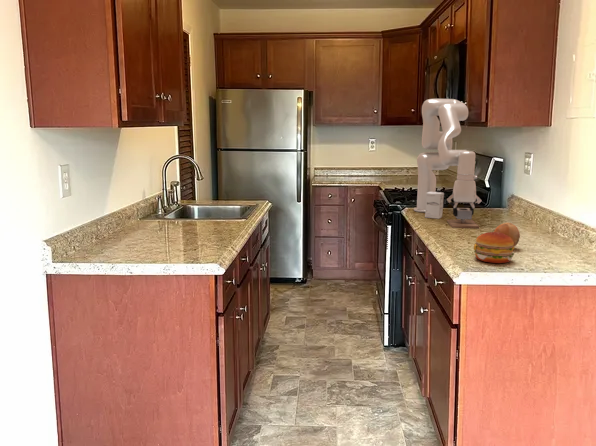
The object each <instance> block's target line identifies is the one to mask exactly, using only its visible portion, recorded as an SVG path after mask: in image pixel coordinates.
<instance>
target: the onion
mask: <svg viewBox="0 0 596 446" xmlns="http://www.w3.org/2000/svg"><path fill="white" fill-rule="evenodd" d="M493 232H499V233H503V234H505V235H507V236H509V237H510V238H511V239H512V240H513V242H514V245H513V246H514V248H515V247H516V246H517V245H518V243H519V242H520V239H521V238H520V237H521V234H520V230H519V229H518V227H517V226H516V225H515V224H514V223H511V222H503V223H501V224H499V225H498V226H497V227H496V228H495V229H494V231H493Z"/></svg>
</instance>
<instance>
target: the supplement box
mask: <svg viewBox="0 0 596 446" xmlns="http://www.w3.org/2000/svg"><path fill="white" fill-rule="evenodd" d="M444 197H445V193H444V192H440V191H436V192H428V193H426V209H425V212H424V218H425V219H426V218H428V219H436V220H438V219H439V220H440V219H441V218H443V209H444Z"/></svg>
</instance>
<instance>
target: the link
mask: <svg viewBox="0 0 596 446" xmlns="http://www.w3.org/2000/svg"><path fill="white" fill-rule="evenodd" d="M472 217H473V215H472V210H470V207H457V216H456V217H455V219H456V220H461V219H465V220H473V219H472Z"/></svg>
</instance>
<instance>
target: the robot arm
mask: <svg viewBox="0 0 596 446" xmlns="http://www.w3.org/2000/svg"><path fill="white" fill-rule="evenodd" d="M438 116H439V118H438ZM421 117H422V123H423V124H422V131H421V132H422V133H421V135H422V136H421V147H422V148H423V149H425V150H435V151H425V152H421V153H419V154H418V156H417V157H416V164H417V171H418V172H417V176H418V177H417V196H416V207H414V208H413V211H414V212H418V213H425V209H426V193H428V192H437V191H436V190H437V177H436V174H435V173H434V172H433V171H444V170H447V169H449V167H450V166H451V167H456V166H457V171H456V172H457V174H456V180H455V181H454V183H453V189H452V194H451V195H449V197H448V198H446V201H447V202H448V203H449V204H450V205H451V207H452V208H453V209H452V215H453V216H454V218H456V216H457V208H458V207H457V206H458V204H460V203H462V204H465V203H467V204H469V205H470V207H469V209H470V210H472V216H474V214H475V213H474V212H475V211H474V210H475V208H476V207H478V205H479V204H480V203H481V202H482V199H481V198H480V197H479V196H478V195H477V186H476V181H475V180H477V179H478V175H475V167H476V152H475V151H473V150H467V149H453V138H456V137H457V136H459V135H461V132H462V127H461V124H460V122H461V121H462V122H463V121H465V120H467V119H468V117H469V108H468V106H467V105H466V104H465V103H464V102H462V101H460V100H458V99H454V98H429V99H426V100H425V101H423V103H422V105H421ZM440 126H441V130H442V131H440ZM436 150H437V151H436Z"/></svg>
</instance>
